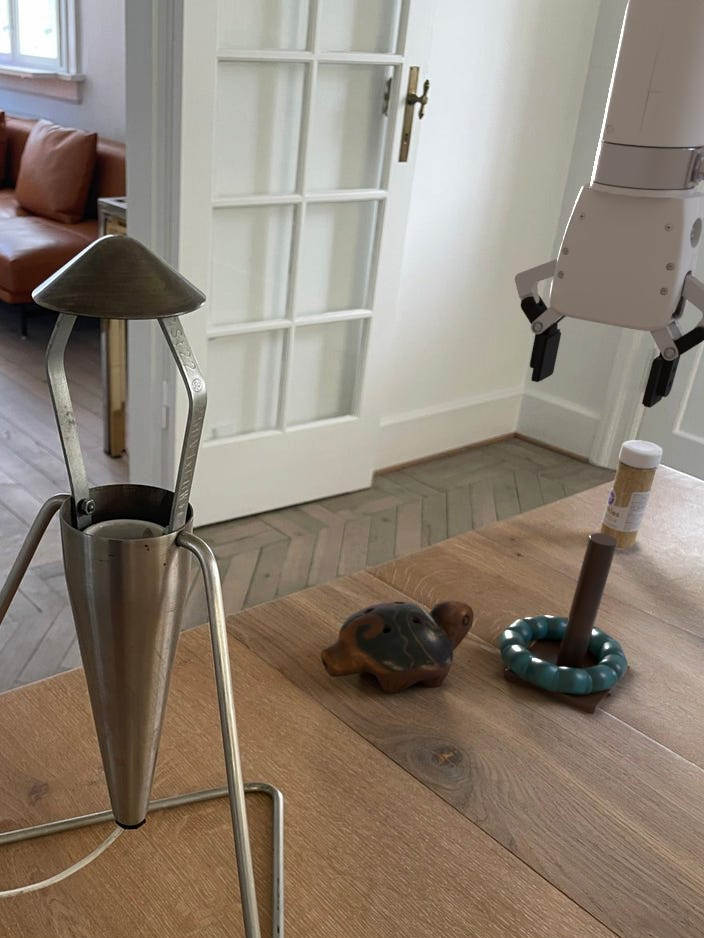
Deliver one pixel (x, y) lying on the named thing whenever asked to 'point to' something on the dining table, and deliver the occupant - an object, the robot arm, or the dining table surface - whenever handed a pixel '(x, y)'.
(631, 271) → the robot arm
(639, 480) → the sprinkles bottle
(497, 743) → the dining table surface
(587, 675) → the ring
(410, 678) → the decorative turtle
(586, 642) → the post
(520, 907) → the dining table surface
